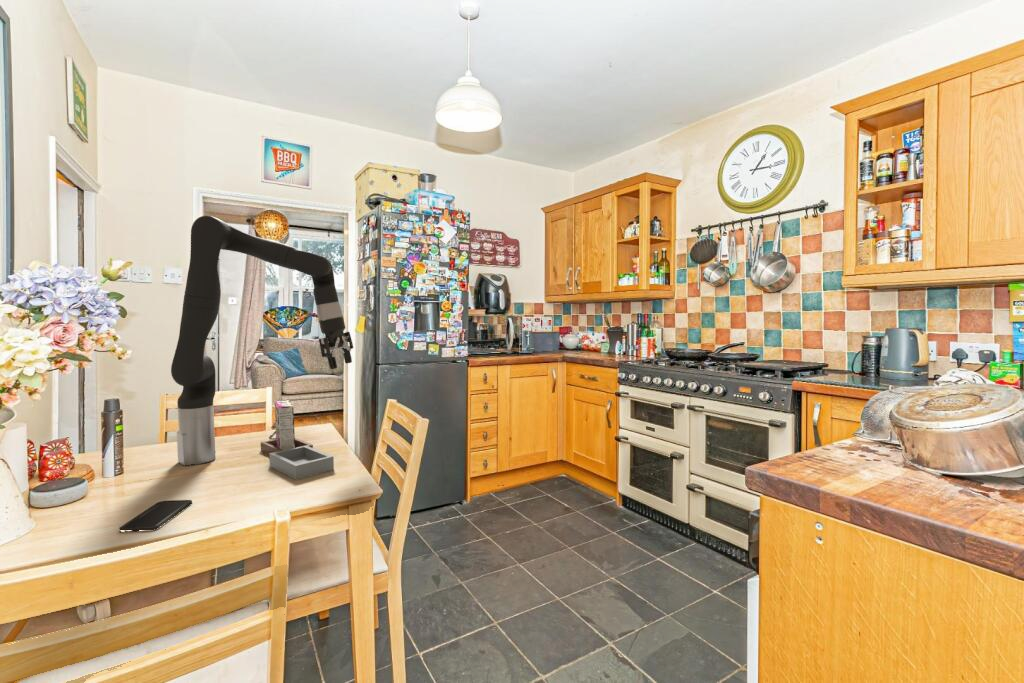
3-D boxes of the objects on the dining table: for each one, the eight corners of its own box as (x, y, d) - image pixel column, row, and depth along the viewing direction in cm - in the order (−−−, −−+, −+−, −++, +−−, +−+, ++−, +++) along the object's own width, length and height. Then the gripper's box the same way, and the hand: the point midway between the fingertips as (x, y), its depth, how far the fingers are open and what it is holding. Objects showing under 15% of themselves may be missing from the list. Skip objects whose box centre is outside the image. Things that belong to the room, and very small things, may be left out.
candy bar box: (275, 449, 162) (273, 401, 161) (291, 447, 164) (290, 399, 163) (278, 458, 152) (276, 407, 151) (295, 455, 155) (294, 405, 154)
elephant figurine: (276, 443, 170) (261, 431, 174) (284, 450, 175) (268, 439, 178) (298, 421, 175) (283, 410, 179) (305, 430, 180) (290, 419, 183)
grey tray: (295, 480, 133) (295, 465, 133) (269, 466, 144) (269, 453, 144) (333, 469, 141) (333, 456, 141) (306, 457, 153) (305, 445, 152)
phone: (194, 499, 118) (156, 527, 103) (194, 504, 118) (156, 532, 103) (159, 500, 117) (116, 529, 102) (159, 505, 117) (116, 534, 102)
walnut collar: (281, 461, 149) (281, 451, 149) (260, 451, 160) (260, 442, 160) (313, 453, 157) (312, 444, 157) (291, 444, 167) (290, 436, 167)
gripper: (333, 316, 163) (343, 362, 166) (306, 321, 150) (318, 372, 152) (352, 313, 162) (363, 360, 164) (327, 318, 148) (338, 369, 150)
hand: (341, 365), depth 158 cm, fingers open, 8 cm apart
